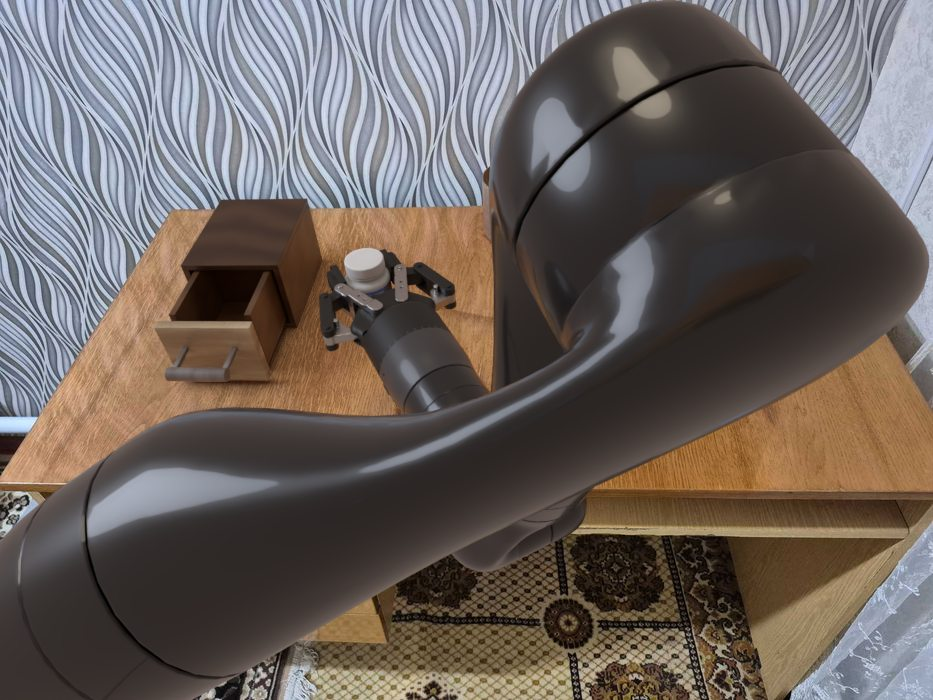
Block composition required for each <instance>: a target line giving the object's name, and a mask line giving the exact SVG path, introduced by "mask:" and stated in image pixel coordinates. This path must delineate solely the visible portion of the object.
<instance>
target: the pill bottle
mask: <svg viewBox="0 0 933 700" xmlns="http://www.w3.org/2000/svg"><path fill="white" fill-rule="evenodd" d="M343 264H344V265H343V266H344V269H345V273H346V274H345V275H344V278H345V280H346V281H347V286H349V287H350V288H352V289H353V290H356V289H359V290H360V291H362V292H363V293H365V294H366V295H368V296H372V295H377V294H381V293H383V292H385V291H387V290H389V289H392V288H393V285H392V284H393V283H392V281H391V276H390V273H389V271H388V269H387V268H386V267H385V262H384V257H383V254H382V253H381V252H380V251H379V249H376V248H373V247H362V248H358V249H354V250H352V251H350V252H349V253H348V254H347V255H346V256H345V258H344V259H343Z"/></svg>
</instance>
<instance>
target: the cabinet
mask: <svg viewBox="0 0 933 700" xmlns="http://www.w3.org/2000/svg"><path fill="white" fill-rule="evenodd" d="M310 208H311V207H310V204H309V201H308V198H244V199H242V198H240V199H239V198H238V199H237V198H235V199H220V200H219V203H218V204H217V206H216V207H215V209H214V211H213V212H212V214H211V215H210V217H209V218H208V220H207V222H205V223H206V224H205V225H204V227H203V228H202V230H201V231H200V233H199V235H198V236H197V237H196V239H195V241H194V243H193V245H192V246H191V247H190V249H189V251H188V253H187V254H186V256H185V258H184V259H183V261H182V262H181V264H180V268H181V270H182V272H183V274H184V277H185V279H186V281H187V283H188V281H189V279H190V277H191V276H192V274H193V272H194V271H195V270H273V272H274V275H275V278H276V281H277V284H278V287H279V290H280V293H281V297H282V300H283V303H284V306H285V309H286V312H287V315H288V316H287V319H286V321H285V324H284V326H283V329H297V328H298V326H299V324H300V321H301V318H302V315H303V314H304V313H303V312H304V310H305V307H306V306H307V305H306V304H307V302H308V300H309V296H310V294H311V291H312V288H313V285H314V283H315V280H316V277H317V275H318V272H319V269H320V266H321V264H322V261H323V257H322V253H321V248H320V245H319V240H318V236H317V233H316V229H315V228H316V227H315V224H314V221H313V220H314V219H313V217H312V213H311V209H310Z"/></svg>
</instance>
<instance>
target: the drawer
mask: <svg viewBox="0 0 933 700" xmlns="http://www.w3.org/2000/svg"><path fill="white" fill-rule="evenodd" d="M287 316H288V315H287V312H286V309H285V306H284V303H283V300H282V297H281V293H280V290H279V287H278V284H277V281H276V278H275V275H274V272H273V270H195V271H194V272H193V274H192V276H191V277H190V279H189V281H188V282H187V283H186V284H185V286H184V288H183V289H182V291H181V293H180V294H179V296H178V298H177V299H176V301H175V302H174V305H173V306H172V308H171V310H170V311H169V313H168V317H169V320H158V321H157V322H156V323H155V325H154V327H153V329H154V331H155V333H156V335H157V336H158V339H159V341H160V343H161V345H162V346H163V349H164V351H165V353H166V354H167V356H168V358H169V360H170V362H171V364H172V366H167V367H166V368H165V371H164V378H165V380H166V381H167V382H196V383H197V382H202V383H204V382H206V383H207V382H208V383H210V382H211V383H228V382H229V381H257V382H258V381H260V382H261V381H265V382H269V381H270V379H271V377H272V372H271V368H270V366H269V365H270V362H271V360H272V357H273V355H274V353H275V352H274V351H275V349H276V347H277V345H278V342H279V339H280V336H281V335H282V332H283V329H284V328H283V326H284V324H285V321H286V319H287Z"/></svg>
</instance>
